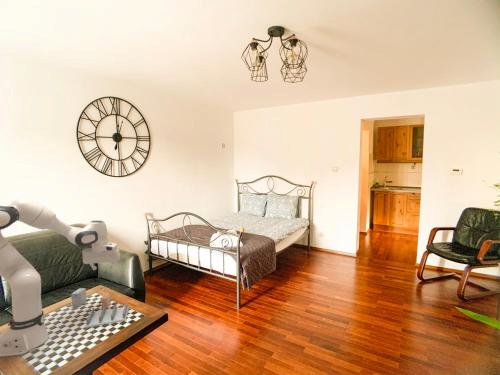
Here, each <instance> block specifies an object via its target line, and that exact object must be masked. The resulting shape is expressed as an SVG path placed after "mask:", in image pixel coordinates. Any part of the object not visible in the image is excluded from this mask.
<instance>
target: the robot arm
mask: <svg viewBox="0 0 500 375" xmlns="http://www.w3.org/2000/svg"><path fill="white" fill-rule="evenodd" d="M17 221H18V222H20V223H23V224H25V225H27V226H30V227H31V228H35V229H39V230H41V231H42V230H51V231H53V232H54V233H58V234H59V235H61V236H63V237H64V238H65V239H66V241H67V242H69V243H70V244H73V245H75V246H77V247H79V248H80V247H81V248H83V247H84V249H82V251H81V254H82V263H83V265H89V266H90V267H91V268H92V271H96V270H97V266H95V264H100V263H101V264H102V263H109V262H110V265H109V269H110V270H111V269H113V268H114V263H115V262H119V260H120V259H121V252H120V249H119V248H118V244H117V243H115V242H110V241H109V239H108V228H107V223H105V221H103V220H91V221H90V222H89V223H88V224H87V225H86V226H84V227H81V226H76V225H75V226H73V225H70V224H67V223H66V222H64V221H62V220H60V219H58V218H57V215H56V213H55V212H53V211H52V210H51V209H49V208H48V207H46V206H45V205H42V204H40V203H38V202H36V201H34V200H30V199H27V198H17V199H14V201H12V202H11V203H10V204H9V205H7V206H6V205H0V276H1V277H2V278H3V279H4V280H5V281H6V282H7V283H8V284H9V287H10V292H11V307H12V308H11V310H12V319H11V320H9V322H8V323H7V328H6V330H5V331H3V332H2V333H1V334H0V358H2V357H14V356H22V355H25V354H27V353H28V352H29V351H31V350H34V349H36V348H38V347H40V346H41V345H43V344H44V343H46V342H47V340H49V338H50V334H49V332H48V330H47V328H46V324H45V314H44V313H45V312H44V310H43V305H42V297H41V296H42V282H41V281H42V279H41V275H40V273H39V272H38V270H36V269H35V267H34V266H33V265H32V264H31V263H30V262H29V261H28V260H27V259H26V258H25V257H24V256H23V255H22V254H21V253H20V252H19V251H18V250H17V249H16V248H15V247H14V246H13V244H11V242H9V241H8V239H6V238H5V236H3V234H2V230H5V229H7V228H8V227H10V226H11V225H13V224H14V223H16V222H17ZM90 245H91V247H89V246H90ZM85 247H86V248H85ZM87 247H88V248H87Z"/></svg>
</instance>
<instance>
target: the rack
mask: <svg viewBox="0 0 500 375" xmlns="http://www.w3.org/2000/svg"><path fill="white" fill-rule="evenodd" d="M117 306H118V305H117V304H114V305H113V308H112V309H106V306H104V307H103V309H102V308H101V310H100V311H95V308H93V307H92V308H91V311H90V312H89V314H88V316H87V318H86V324H85V329H88V328H94V327H98V326H99V325H100V326H103V325H104V324H105V325H111V324H114V323H116V324H117V323H120V322H124V321H125V322H126V321H127V316H128V313H129V309H130V306H129V305H128V302H125V304H124V306H123V307H117ZM105 325H104V326H105ZM100 326H99V327H100Z"/></svg>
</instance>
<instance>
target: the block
mask: <svg viewBox="0 0 500 375" xmlns="http://www.w3.org/2000/svg"><path fill="white" fill-rule="evenodd" d="M100 301H101V310H102V309H103V307H104V306H106V310H109V307H110V304H111V297H110V292H104V293H103V295H102V297H101V299H100Z"/></svg>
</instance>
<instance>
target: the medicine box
mask: <svg viewBox="0 0 500 375" xmlns="http://www.w3.org/2000/svg"><path fill="white" fill-rule="evenodd" d="M70 297H71V298H70V299H71V308H80V307H81V306H82V305H83V304H84V303H85V302H87V300H88V299H87V298H88V297H87V289H86V288H83V287H82V288H78V289H77V290H75V291H73V292H72V293H71V295H70Z"/></svg>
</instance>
